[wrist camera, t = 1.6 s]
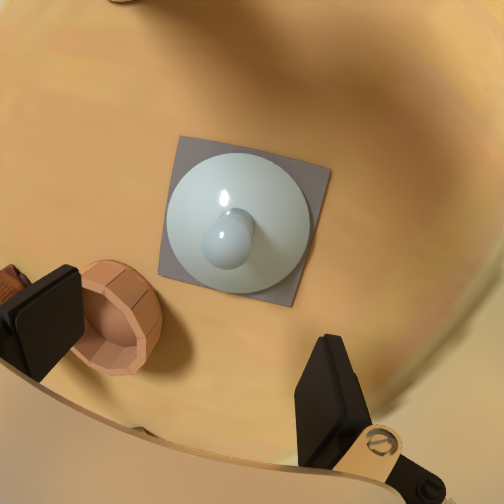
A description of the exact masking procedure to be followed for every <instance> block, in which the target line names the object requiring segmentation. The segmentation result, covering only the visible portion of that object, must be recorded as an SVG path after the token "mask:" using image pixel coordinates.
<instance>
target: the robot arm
mask: <svg viewBox="0 0 504 504" xmlns="http://www.w3.org/2000/svg"><path fill="white" fill-rule="evenodd" d="M111 1H115V2H125V1H132V0H111ZM84 331H85V324H84V313H83V299H82V277H81V274H80V273H79V270H78V269H77V268H76V267H73V266H70V265H67V264H65V265H63V266H61V267H59V268H57V269H56V270H54V271H52V272H51V273H49V274H48V275H46V276H44V277H43V278H41V279H39V280H38V281H36V282H35V283H33V284H31V285H30V286H28V287H27V288H25V289H24V290H22V291H21V292H19V293H18V294H16V295H15V296H13V297H12V298H10V299H9V300H7V301H6V302H4V303H3V304H1V305H0V504H456V503H455V502H454V501H453V500H452V499H451V498H450V499H448V500H447V499H446V498H445V496H446V488H445V485H444V483H443V481H442V480H441V479H440V478H439V477H437V476H436V475H434V474H433V473H431V472H429V471H428V470H425V469H424V468H422V467H421V466H419V465H417V464H416V463H414V462H413V461H411V460H409V459H408V458H406V457H405V456H403V455H402V454H400V453H401V450H402V441H401V439H400V437H399V436H398V434H397V433H396V432H395V431H393V430H392V429H390V428H389V427H386V426H383V425H372V421H371V418H370V415H369V412H368V409H367V406H366V402H365V399H364V396H363V393H362V390H361V387H360V384H359V381H358V378H357V376H356V374H355V373H354V372H353V369H352V366H351V363H350V360H349V358H348V355H347V352H346V349H345V346H344V343H343V340H342V338H341V336H337V335H331V334H325V335H324V336H323V337H319V338H318V340H317V342H316V344H315V347H314V349H313V351H312V354H311V356H310V358H309V360H308V363H307V365H306V367H305V369H304V372H303V374H302V376H301V378H300V380H299V382H298V384H297V386H296V389H295V394H294V399H295V414H296V431H297V449H298V465H299V466H288V465H279V464H271V463H264V462H257V461H251V460H245V459H239V458H234V457H229V456H224V455H219V454H214V453H210V452H206V451H201V450H197V449H193V448H190V447H186V446H182V445H179V444H175V443H172V442H169V441H166V440H162V439H159V438H156V437H153V436H150V435H148V434H145V433H142V432H139V431H136V430H134V429H131V428H129V427H126V426H123V425H121V424H119V423H116V422H114V421H111V420H109V419H107V418H104V417H102V416H100V415H98V414H96V413H93V412H91V411H89V410H87V409H85V408H83V407H81V406H79V405H77V404H75V403H73V402H71V401H69V400H67V399H66V398H64V397H62V396H60V395H58V394H56V393H55V392H53V391H51V390H49V389H48V388H46V387H44V386H43V385H41V384H39V383H40V382H41V381H42V380H43V378H44V377H45V376H46V375H47V374H48V373H49V372H50V371H51V369H52V368H53V367H54V366H55V365H56V364H57V363H58V362H59V361H60V359H61V358H62V357H63V356H64V355H65V354H66V353H67V352H68V351H69V350H70V349H71V348H72V347H73V345H74V344H75V343H76V342H77V341H78V340H79V339H80V338H81V337H82V336H83V334H84Z"/></svg>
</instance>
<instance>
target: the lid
mask: <svg viewBox="0 0 504 504" xmlns="http://www.w3.org/2000/svg"><path fill="white" fill-rule="evenodd" d="M309 229H310V220H309V212H308V207H307V204H306V201H305V198H304V196H303V194H302V192H301V190H300V188H299V187H298V185H297V184H296V182H295V181H294V180H293V179H292V178H291V177H290V175H289V174H288V173H287V172H285V171H284V170H283V169H282V168H281V167H279V166H278V165H276V164H274V163H273V162H271V161H269V160H267V159H264V158H262V157H259V156H255V155H251V154H245V153H229V154H222V155H218V156H214V157H212V158H209V159H207V160H204V161H203V162H201V163H199V164H198V165H196V166H195V167H194V168H192V169H191V170H190V171H189V172H188V173H187V174H186V175H185V176H184V177H183V178H182V179H181V181H180V182H179V183H178V185H177V186H176V188H175V190H174V192H173V194H172V196H171V199H170V202H169V206H168V211H167V232H168V238H169V241H170V245H171V247H172V250H173V252H174V254H175V256H176V257H177V259H178V261H179V262H180V263H181V265H182V266H183V267H184V269H185V270H186V271H187V272H188V273H189V274H190V275H192V276H193V277H194V278H195V279H197V280H198V281H200V282H201V283H203V284H205V285H207V286H209V287H211V288H213V289H216V290H220V291H223V292H229V293H251V292H256V291H260V290H263V289H266V288H268V287H270V286H273V285H274V284H276V283H278V282H279V281H281V280H282V279H283V278H285V277H286V276H287V275H288V274H289V273H290V272H291V271H292V270H293V269H294V268H295V266H296V265H297V264H298V262H299V261H300V259H301V257H302V255H303V253H304V251H305V248H306V245H307V242H308V237H309Z"/></svg>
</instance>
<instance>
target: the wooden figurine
mask: <svg viewBox="0 0 504 504" xmlns="http://www.w3.org/2000/svg"><path fill="white" fill-rule="evenodd" d="M30 285H31V283H30V281H29V280H28V279H27V278H26V277H25V275H24V274H23V273H20V274H18V273H17V272H16V270H15V269H14V267H13V265H12V264H10V265H8V266H6V267H5V268H4V269H2V270H0V305H1V304H3V303H4V302H6V301H7V300H9V299H10V298H12V297H13V296H15V295H16V294H18V293H19V292H21V291H22V290H24V289H25V288H27V287H28V286H30Z"/></svg>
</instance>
